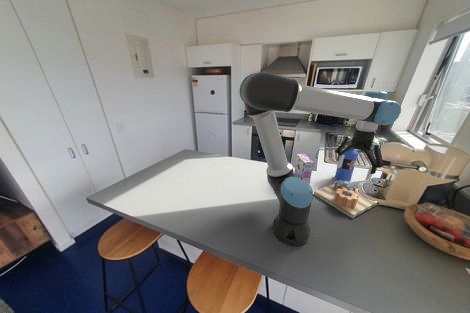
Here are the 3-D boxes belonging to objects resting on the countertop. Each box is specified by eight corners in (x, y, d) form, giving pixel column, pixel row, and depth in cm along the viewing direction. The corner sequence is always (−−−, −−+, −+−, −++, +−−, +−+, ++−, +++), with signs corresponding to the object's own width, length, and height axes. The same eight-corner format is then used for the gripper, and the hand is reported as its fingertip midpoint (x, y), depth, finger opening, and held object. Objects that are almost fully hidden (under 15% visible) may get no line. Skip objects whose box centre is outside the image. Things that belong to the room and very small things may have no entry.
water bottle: (354, 180, 113) (364, 144, 103) (343, 183, 110) (353, 146, 100) (341, 174, 121) (350, 139, 111) (331, 176, 118) (339, 141, 108)
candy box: (309, 186, 107) (314, 162, 101) (299, 186, 107) (303, 162, 101) (302, 175, 120) (305, 153, 113) (293, 175, 120) (296, 153, 114)
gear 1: (352, 197, 93) (355, 189, 91) (332, 191, 99) (334, 183, 97) (355, 189, 100) (358, 181, 98) (336, 183, 106) (338, 176, 104)
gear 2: (348, 210, 84) (350, 201, 82) (329, 199, 92) (331, 191, 90) (360, 204, 88) (363, 195, 86) (341, 194, 96) (343, 186, 95)
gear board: (352, 218, 82) (356, 204, 79) (313, 194, 100) (316, 182, 97) (379, 203, 92) (384, 190, 89) (340, 183, 110) (343, 172, 107)
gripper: (406, 135, 67) (387, 183, 75) (343, 123, 87) (333, 161, 95) (396, 138, 64) (377, 187, 72) (333, 124, 84) (324, 164, 92)
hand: (352, 173), depth 84 cm, fingers open, 13 cm apart
